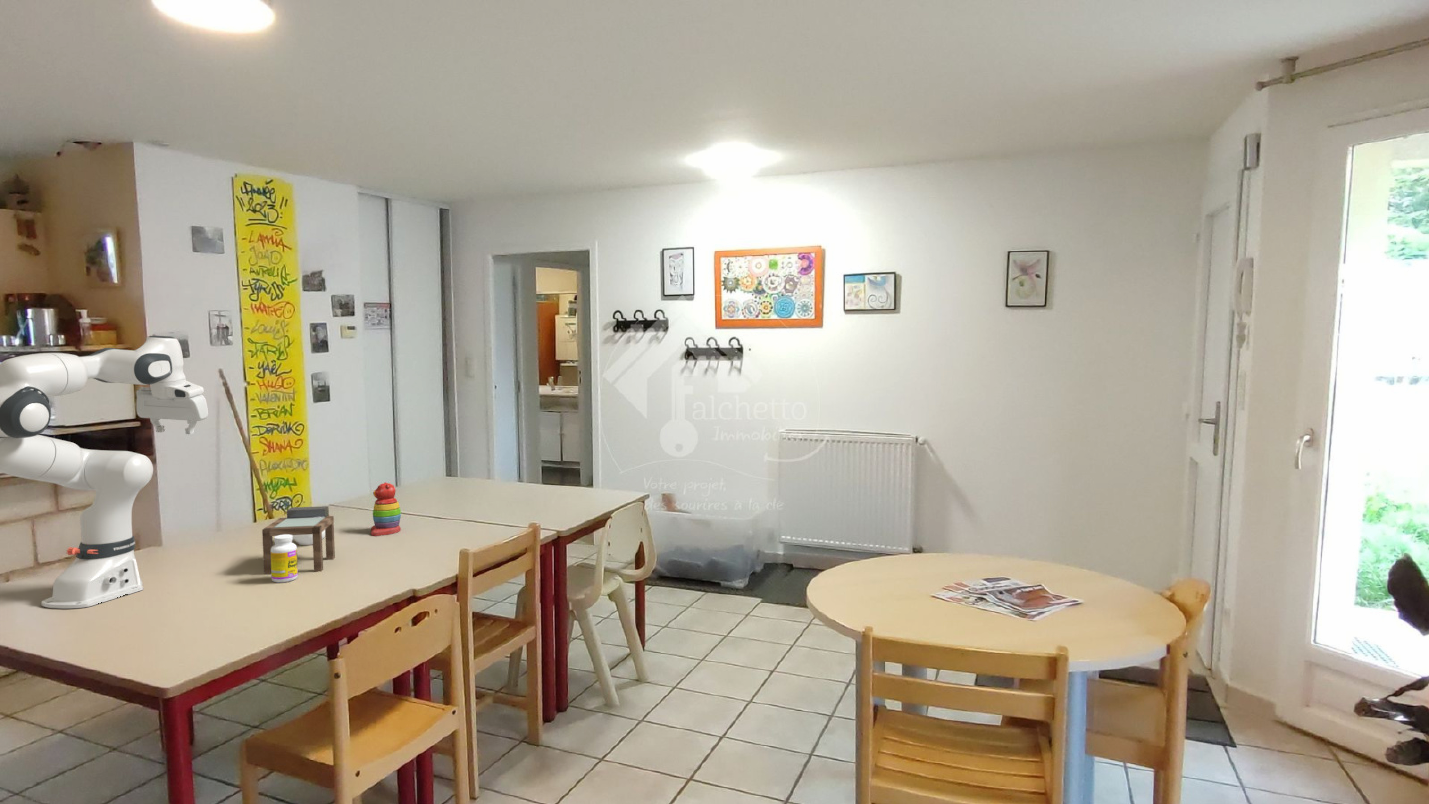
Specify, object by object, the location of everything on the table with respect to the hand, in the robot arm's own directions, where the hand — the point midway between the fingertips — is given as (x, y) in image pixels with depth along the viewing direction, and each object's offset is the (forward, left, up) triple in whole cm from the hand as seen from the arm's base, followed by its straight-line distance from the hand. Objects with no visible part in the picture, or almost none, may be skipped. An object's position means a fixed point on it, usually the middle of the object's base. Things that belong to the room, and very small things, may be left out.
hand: (175, 432), depth 231 cm
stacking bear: (+46, -41, -41) cm, 74 cm away
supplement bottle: (-9, -41, -41) cm, 59 cm away
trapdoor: (+7, -36, -31) cm, 48 cm away
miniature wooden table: (+4, -36, -41) cm, 55 cm away
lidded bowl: (+29, -23, -41) cm, 55 cm away
